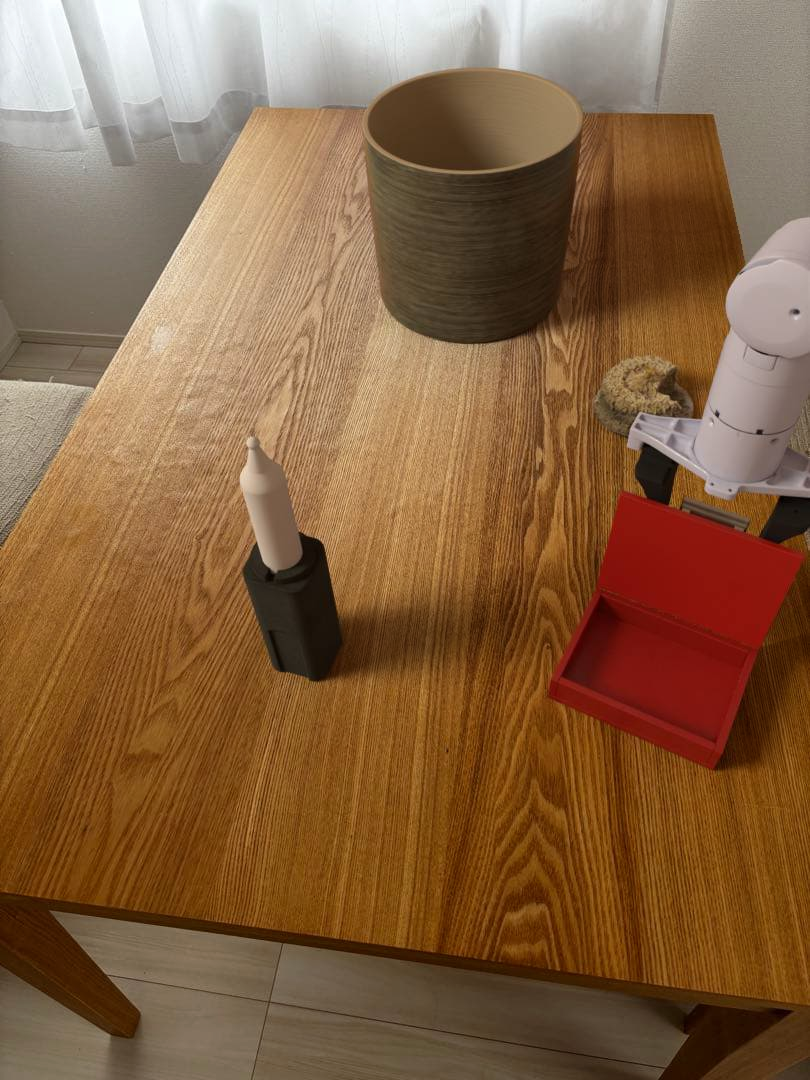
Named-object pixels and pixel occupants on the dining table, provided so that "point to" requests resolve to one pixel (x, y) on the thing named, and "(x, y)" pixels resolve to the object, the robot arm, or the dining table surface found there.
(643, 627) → the red box base
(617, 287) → the dining table surface
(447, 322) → the planter
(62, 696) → the dining table surface
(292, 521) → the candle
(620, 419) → the cake
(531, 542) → the dining table surface
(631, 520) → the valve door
